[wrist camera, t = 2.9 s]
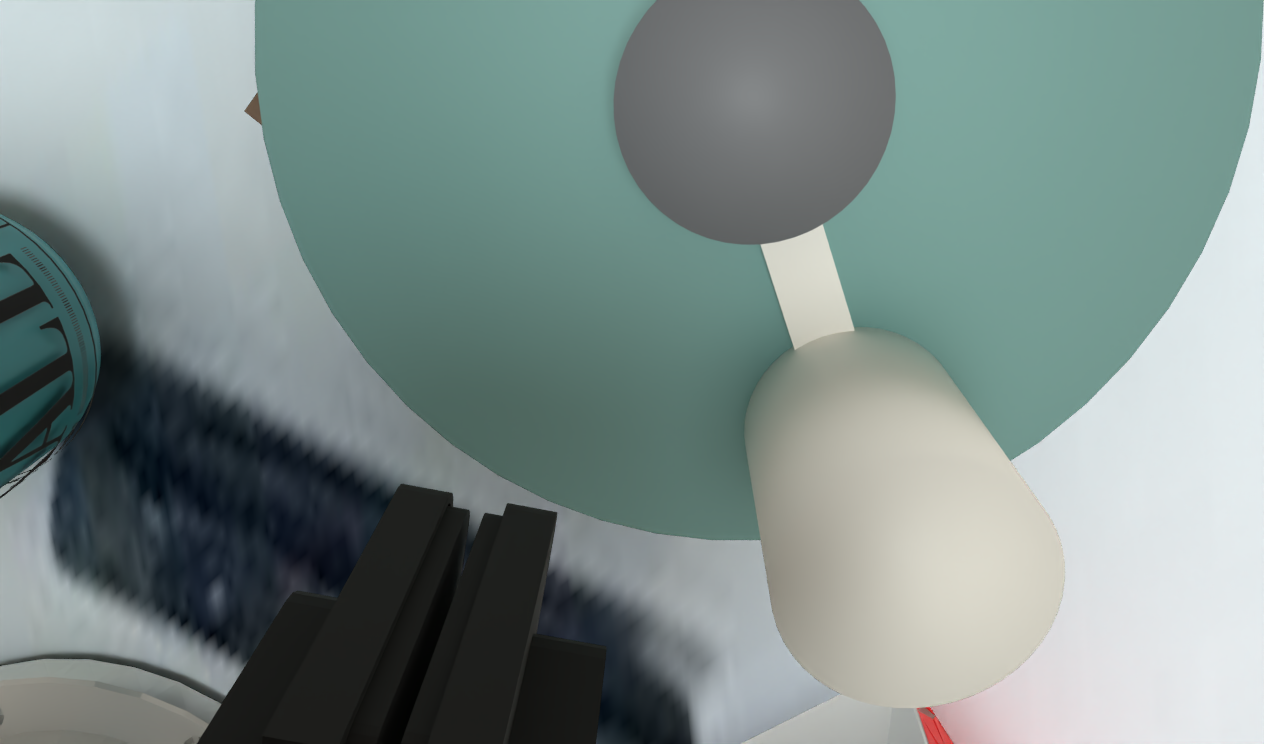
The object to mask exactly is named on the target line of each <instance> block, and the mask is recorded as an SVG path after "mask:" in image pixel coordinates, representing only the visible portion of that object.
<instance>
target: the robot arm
mask: <svg viewBox="0 0 1264 744" xmlns="http://www.w3.org/2000/svg"><path fill="white" fill-rule="evenodd" d="M469 518H470V511H469V510H467V509H461V508H456V507H453V493H449V492H444V491H438V490H433V489H427V488H422V487H416V486H411V485H405V484H400V486H399V487H398V489H397V491H396V492H395V494H394V496H393V498H392V500H391V502H390V503H389V505H388V507H387V509H386V511H385V512H384V514H383V516H382V518H381V520H380V522H379V523H378V525H377V527H376V529H375V531H374V533H373V534H372V536H371V538H370V540H369V542H368V544H367V545H366V547H365V549H364V551H363V553H362V555H361V556H360V558H359V560H358V562H357V564H356V566H355V567H354V569H353V571H352V573H351V575H350V576H349V578H348V580H347V582H346V584H345V586H344V587H343V589H342V591H341V593H340V595H339V597H338V598H336V597H330V596H324V595H319V594H313V593H308V592H302V591H296V592H293V593H292V594H291V595H290V597H289V598H288V599H287V600H286V602H285V603H284V605H283V607H282V608H281V610H280V611H279V613H278V615H277V616H276V618H275V619H274V621H273V623H272V624H271V626H270V627H269V629H268V631H267V632H266V634H265V635H264V637H263V639H262V640H261V642H260V643H259V645H258V647H257V648H256V650H255V651H254V653H253V655H252V656H251V658H250V659H249V661H248V663H247V664H246V666H245V667H244V669H243V671H242V672H241V674H240V675H239V677H238V679H237V680H236V682H235V683H234V685H233V687H232V688H231V690H230V691H229V693H228V694H227V696H226V698H225V699H224V701H223V702H222V704H221V703H219V702H217V701H215V700H213V699H211V698H209V697H207V696H205V695H203V694H201V693H199V692H197V691H195V690H193V689H191V688H189V687H187V686H185V685H184V684H182V683H180V682H177V681H174V680H171V679H168V678H165V677H162V676H159V675H156V674H153V673H150V672H147V671H144V670H141V669H138V668H135V667H130V666H124V665H118V664H113V663H107V662H101V661H95V660H89V659H40V660H33V661H27V662H21V663H15V664H9V665H3V666H0V744H596V738H597V729H598V720H599V711H600V703H601V694H602V685H603V676H604V668H605V659H606V646H601V645H595V644H590V643H584V642H579V641H573V640H568V639H562V638H556V637H551V636H545V635H540V634H536V633H537V628H538V622H539V616H540V611H541V605H542V599H543V594H544V588H545V582H546V577H547V571H548V566H549V560H550V554H551V549H552V543H553V537H554V532H555V526H556V520H557V512H553V511H547V510H542V509H536V508H531V507H525V506H520V505H514V504H509V503H508V504H507V505H506V508H505V511H504V514H503V516H499V515H494V514H488V513H485V514H484V516H483V519H482V521H481V524H480V527H479V529H478V532H477V535H476V538H475V540H474V543H473V546H472V549H471V551H470V554H469V557H468V560H467V562H466V565H465V568H464V571H463V573H462V568H463V561H464V554H465V547H466V540H467V533H468V526H469ZM461 575H462V576H461Z"/></svg>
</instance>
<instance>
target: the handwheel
mask: <svg viewBox="0 0 1264 744" xmlns="http://www.w3.org/2000/svg"><path fill="white" fill-rule="evenodd" d="M1262 21H1263V0H256V1H255V75H256V82H257V90H258V98H259V105H260V113H261V121H262V128H263V136H264V141H265V145H266V149H267V153H268V157H269V161H270V164H271V168H272V172H273V176H274V180H275V184H276V188H277V192H278V195H279V199H280V202H281V205H282V207H283V210H284V213H285V215H286V218H287V220H288V223H289V225H290V228H291V230H292V233H293V235H294V238H295V240H296V243H297V245H298V248H299V251H300V253H301V256H302V258H303V260H304V262H305V264H306V266H307V268H308V270H309V271H310V273H311V275H312V277H313V279H314V281H315V282H316V284H317V286H318V288H319V290H320V292H321V293H322V295H323V297H324V299H325V301H326V303H327V304H328V306H329V308H330V310H331V312H332V314H333V315H334V316H335V318H336V319H337V321H338V322H339V323H340V325H341V326H342V328H343V329H344V330H345V332H346V333H347V335H348V336H349V337H350V339H351V340H352V342H353V343H354V344H355V346H356V347H357V349H358V350H359V351H360V353H361V354H362V356H363V357H364V358H365V360H366V361H367V363H368V364H369V365H370V366H371V367H372V368H373V369H374V370H375V371H376V372H377V374H378V375H379V376H380V377H381V378H382V379H383V380H384V381H385V382H386V383H387V384H388V386H389V387H390V388H391V389H392V390H393V391H394V392H395V393H396V394H397V395H398V396H399V398H400V399H401V400H402V401H403V402H404V403H405V404H406V405H407V406H408V407H409V408H410V409H411V410H413V411H414V412H415V413H416V414H417V415H418V416H420V417H421V418H422V419H423V420H424V421H425V422H426V423H428V424H429V425H430V426H431V427H432V428H433V429H435V430H436V431H437V432H438V433H439V434H440V435H442V436H443V437H444V438H445V439H446V440H447V441H449V442H450V443H451V444H452V445H454V446H455V447H457V448H458V449H460V450H461V451H463V452H464V453H466V454H467V455H469V456H470V457H472V458H473V459H475V460H476V461H478V462H479V463H481V464H482V465H484V466H485V467H487V468H488V469H490V470H491V471H493V472H494V473H496V474H497V475H499V476H501V477H503V478H505V479H507V480H509V481H511V482H513V483H515V484H517V485H518V486H520V487H522V488H524V489H526V490H528V491H530V492H532V493H534V494H536V495H538V496H540V497H542V498H544V499H546V500H548V501H550V502H553V503H556V504H558V505H561V506H564V507H567V508H569V509H572V510H575V511H578V512H580V513H583V514H586V515H588V516H591V517H594V518H597V519H599V520H602V521H606V522H611V523H615V524H619V525H623V526H627V527H631V528H636V529H640V530H644V531H648V532H652V533H657V534H665V535H674V536H682V537H691V538H699V539H708V540H761V545H762V551H763V557H764V563H765V569H766V575H767V581H768V587H769V594H770V600H771V606H772V611H773V615H774V619H775V622H776V626H777V628H778V631H779V633H780V635H781V637H782V639H783V642H784V643H785V645H786V646H787V648H788V649H789V651H790V653H791V654H792V656H793V657H794V658H795V659H796V660H797V661H798V663H799V664H800V665H801V666H802V667H803V668H804V669H805V670H806V671H807V672H808V673H810V674H811V675H812V676H813V677H814V678H815V679H817V680H818V681H820V682H821V683H823V684H824V685H826V686H827V687H829V688H830V689H832V690H834V691H836V692H838V693H840V694H842V695H844V696H847V697H849V698H852V699H855V700H858V701H860V702H864V703H868V704H873V705H877V706H883V707H892V708H923V707H933V706H938V705H943V704H948V703H952V702H955V701H958V700H961V699H965V698H968V697H970V696H973V695H975V694H977V693H979V692H982V691H984V690H986V689H988V688H990V687H991V686H993V685H995V684H996V683H998V682H1000V681H1001V680H1003V679H1004V678H1006V677H1007V676H1008V675H1010V674H1011V673H1012V672H1014V671H1015V670H1016V669H1018V668H1019V667H1020V666H1021V665H1022V664H1023V663H1024V662H1025V661H1026V660H1027V659H1028V658H1029V657H1030V656H1031V655H1032V654H1033V652H1034V651H1035V650H1036V649H1037V647H1038V646H1039V645H1040V644H1041V643H1042V641H1043V639H1044V638H1045V636H1046V635H1047V633H1048V631H1049V630H1050V628H1051V626H1052V624H1053V622H1054V619H1055V617H1056V615H1057V613H1058V610H1059V606H1060V603H1061V599H1062V596H1063V589H1064V582H1065V562H1064V556H1063V550H1062V545H1061V542H1060V539H1059V536H1058V533H1057V530H1056V528H1055V526H1054V524H1053V522H1052V520H1051V519H1050V517H1049V515H1048V513H1047V512H1046V511H1045V509H1044V508H1043V506H1042V505H1041V503H1040V502H1039V501H1038V499H1037V498H1036V496H1035V495H1034V494H1033V492H1032V491H1031V489H1030V488H1029V487H1028V485H1027V484H1026V482H1025V481H1024V480H1023V478H1022V477H1021V475H1020V474H1019V473H1018V471H1017V470H1016V468H1015V467H1014V466H1013V464H1012V463H1011V460H1012V459H1014V458H1016V457H1017V456H1019V455H1020V454H1022V453H1023V452H1025V451H1026V450H1028V449H1030V448H1031V447H1033V446H1034V445H1036V444H1037V443H1039V442H1040V441H1041V440H1043V439H1044V438H1045V437H1046V436H1047V435H1049V434H1050V433H1051V432H1052V431H1054V430H1055V429H1056V428H1057V427H1058V426H1060V425H1061V424H1062V423H1063V422H1065V421H1066V420H1067V419H1068V418H1069V417H1071V416H1072V415H1073V414H1074V413H1076V412H1077V411H1078V410H1079V409H1080V408H1082V407H1083V406H1084V405H1085V404H1087V402H1088V401H1089V400H1090V399H1091V398H1092V397H1093V396H1094V395H1095V394H1096V393H1097V392H1098V391H1099V390H1100V389H1101V388H1102V387H1103V386H1104V385H1105V384H1106V383H1107V382H1108V381H1109V380H1110V379H1111V378H1112V377H1113V376H1114V375H1115V374H1116V373H1117V372H1118V371H1119V370H1120V368H1121V367H1122V366H1123V365H1124V364H1125V363H1126V362H1127V361H1128V360H1129V359H1130V358H1131V357H1132V355H1133V354H1134V353H1135V351H1136V350H1137V349H1138V348H1139V346H1140V345H1141V344H1142V342H1143V341H1144V340H1145V338H1146V337H1147V336H1148V335H1149V333H1150V332H1151V331H1152V329H1153V328H1154V327H1155V325H1156V324H1157V323H1158V322H1159V320H1160V319H1161V318H1162V316H1163V315H1164V314H1165V312H1166V311H1167V310H1168V309H1169V307H1170V305H1171V304H1172V302H1173V300H1174V299H1175V297H1176V295H1177V293H1178V292H1179V290H1180V288H1181V287H1182V285H1183V283H1184V282H1185V280H1186V278H1187V277H1188V275H1189V273H1190V272H1191V270H1192V268H1193V267H1194V265H1195V263H1196V262H1197V260H1198V258H1199V257H1200V255H1201V253H1202V251H1203V249H1204V247H1205V245H1206V242H1207V240H1208V238H1209V236H1210V233H1211V231H1212V229H1213V227H1214V224H1215V222H1216V220H1217V218H1218V215H1219V213H1220V211H1221V209H1222V206H1223V204H1224V202H1225V200H1226V197H1227V195H1228V193H1229V190H1230V187H1231V184H1232V180H1233V177H1234V174H1235V171H1236V167H1237V164H1238V161H1239V157H1240V154H1241V151H1242V148H1243V144H1244V141H1245V138H1246V135H1247V131H1248V128H1249V123H1250V118H1251V112H1252V106H1253V100H1254V95H1255V89H1256V83H1257V78H1258V72H1259V66H1260V60H1261V43H1262Z"/></svg>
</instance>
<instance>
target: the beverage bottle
mask: <svg viewBox="0 0 1264 744" xmlns="http://www.w3.org/2000/svg"><path fill="white" fill-rule="evenodd" d="M100 361H101V347H100V337H99V331H98V327H97V323H96V318H95V315H94V313H93V310H92V307H91V304H90V302H89V300H88V298H87V296H86V294H85V292H84V290H83V288H82V286H81V284H80V283H79V281H78V280H77V278H76V277H75V275H74V274H73V272H72V271H71V269H70V268H69V267H68V266H67V264H66V263H65V262H64V261H63V259H62V258H61V257H60V256H59V255H58V254H57V253H56V252H55V251H54V250H53V249H52V248H51V247H50V246H49V245H48V244H47V243H46V242H44V241H43V240H42V239H41V238H39V237H38V236H37V235H36V234H34V233H33V232H32V231H30V230H28V229H27V228H25V227H24V226H22V225H21V224H19V223H17V222H15V221H13V220H11V219H9V218H7V217H5V216H3V215H1V214H0V488H1V487H3V486H4V485H6V484H8V483H11V482H15V481H16V480H17V481H18V479H19V478H18V479H16V480H15V481H14V480H13V481H11V480H12V479H13V478H15V477H16V476H17V475H20V473H21V472H22V471H24V470H25V469H26V468H28V467H29V466H30V465H32V464H33V463H34V462H36V461H37V460H38V459H40V458H41V457H42V456H44V455H45V454H46V453H48V452H49V451H50V450H51V449H53V448H54V447H55V446H56V447H57V446H58V444H59V443H61V442H62V441H63V440H64V439H65V438H66V437H67V436H68V435H69V436H68V438H67V439H69V438H70V435H71V434H72V433H73V432H72V431H74V428H75V427H76V425H77V423H78V422H79V421H80V419H81V418H82V416H83V414H84V412H85V410H86V408H87V406H88V404H89V402H90V400H91V398H92V400H93V398H94V392H95V387H96V384H97V381H98V376H99V370H100ZM92 395H93V396H92ZM92 400H91V403H92ZM91 403H90V406H91ZM90 406H89V409H90ZM89 409H88V412H89ZM88 412H87V414H88ZM87 414H86V416H87ZM86 416H85V418H86ZM85 418H84V421H85ZM84 421H83V423H84ZM83 423H82V425H83ZM82 425H81V427H82ZM81 427H80V428H81ZM80 428H79V430H80ZM79 430H78V431H79ZM78 431H77V432H78ZM71 432H72V433H71ZM69 433H71V434H69ZM76 434H77V433H76ZM76 434H75V435H76ZM74 437H75V436H74ZM74 437H73V438H74ZM67 439H66V440H67ZM66 440H65V442H66ZM72 440H73V439H72ZM72 440H71V441H72ZM71 441H70V442H71ZM65 442H64V444H63V445H65ZM70 442H69V443H70ZM69 443H68V444H69ZM68 444H67V445H68ZM63 445H62V446H63ZM62 446H61V447H62ZM56 447H55V448H54V449H53V450H52V451H51V452H50V453H49V454H48V455H47V456H46V457H45V458H44V459H42V460H41V461H40V462H39V463H38V464H37V465H36V466H35V467H34V468H33V469H32V470H29V471H30V472H29V473H28V474H26V475H25V476H24V477H23V478H22V477H21V478H22V479H21V480H20V481H19V482H17V483H16V484H15V485H13V487H12V486H11V487H12V488H10V489H9V490H8V491H7V492H6V493H4V494H3V495H2V496H0V498H2V497H3V496H4V495H5V494H7V493H8V492H9V491H11V490H12V489H13V488H14V487H16V486H17V485H18V484H20V483H21V482H22V480H25V478H26V477H27V476H28V475H29V474H31V473H32V472H34V470H35V469H37V468H38V467H39V466H41V464H42V463H43V464H46V463H45V462H46V461H47V460H48V458H49V457H50V456H51V455H52V453H53V452H54V450H55V449H56ZM60 449H61V448H60ZM60 449H59V450H60ZM57 453H58V452H57ZM57 453H56V454H57ZM50 460H51V459H50ZM43 464H42V465H43ZM37 470H38V469H37ZM35 471H36V470H35ZM26 472H28V471H26ZM24 473H25V472H24ZM21 474H23V473H21ZM9 481H11V482H9Z"/></svg>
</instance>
